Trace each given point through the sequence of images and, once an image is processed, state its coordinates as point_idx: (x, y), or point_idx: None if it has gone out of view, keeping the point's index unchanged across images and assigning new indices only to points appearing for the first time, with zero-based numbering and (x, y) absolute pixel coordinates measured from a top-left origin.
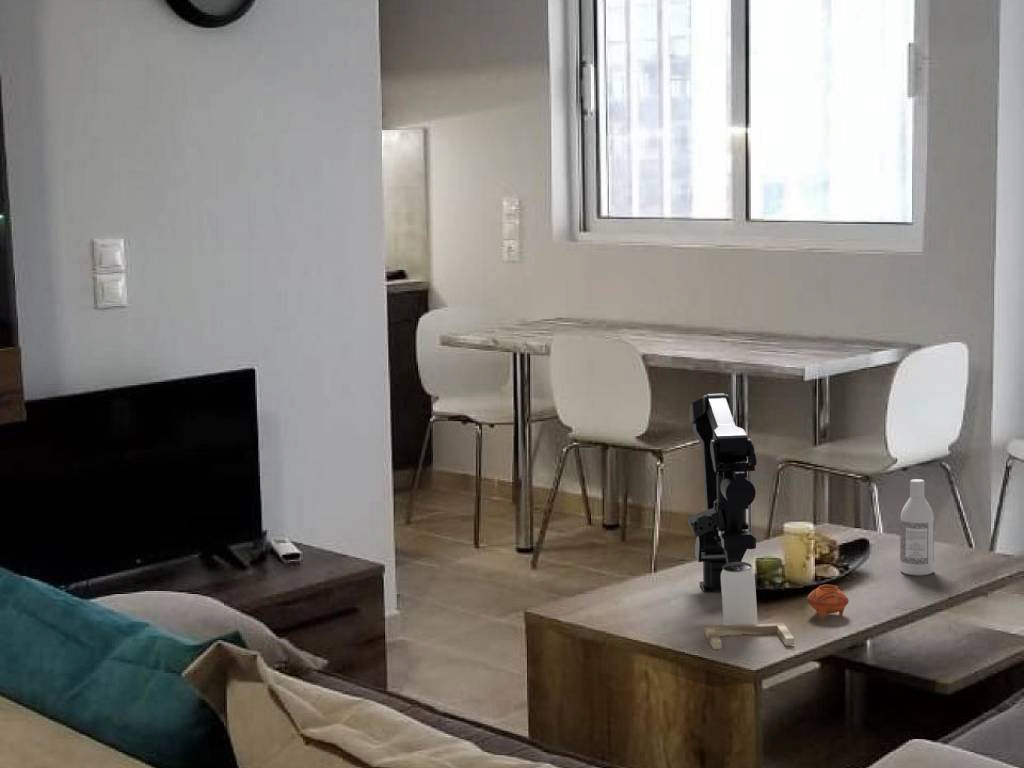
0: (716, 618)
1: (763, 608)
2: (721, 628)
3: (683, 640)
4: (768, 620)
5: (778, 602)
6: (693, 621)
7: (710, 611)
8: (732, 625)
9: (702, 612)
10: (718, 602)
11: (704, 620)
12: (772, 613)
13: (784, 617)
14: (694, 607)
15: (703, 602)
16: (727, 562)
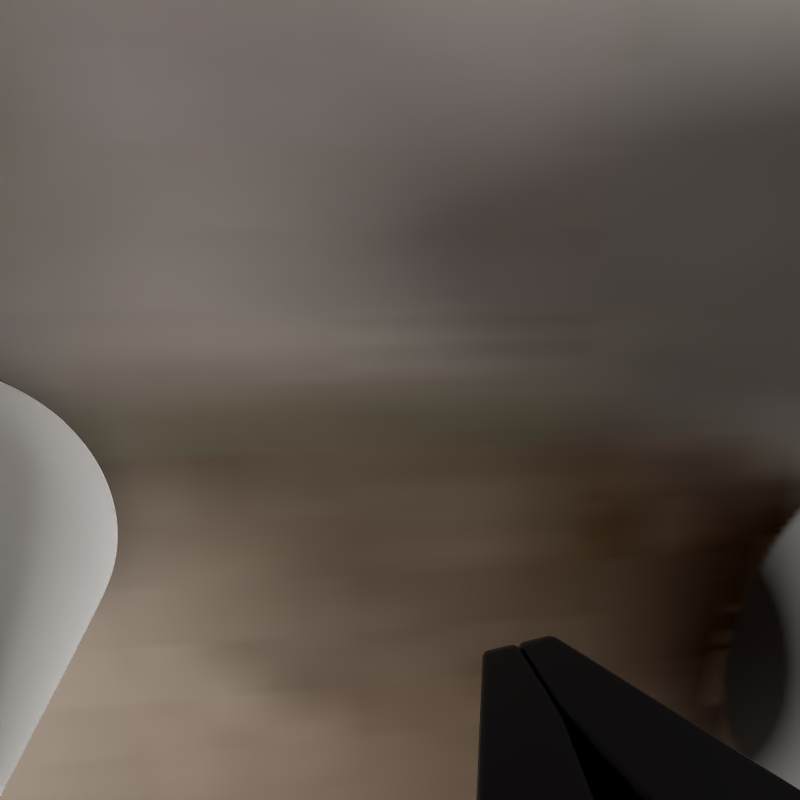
0: (242, 277)
1: None
2: None
3: None
4: (213, 702)
5: None
6: (103, 17)
7: (481, 215)
8: None
9: (450, 131)
10: (754, 290)
11: (157, 149)
12: (409, 711)
13: (304, 794)
14: (628, 46)
15: (778, 146)
16: (619, 770)
